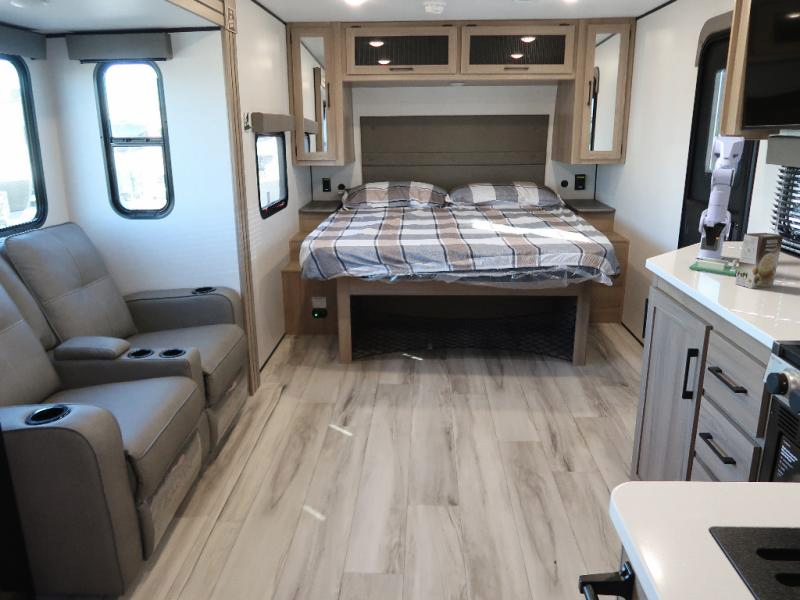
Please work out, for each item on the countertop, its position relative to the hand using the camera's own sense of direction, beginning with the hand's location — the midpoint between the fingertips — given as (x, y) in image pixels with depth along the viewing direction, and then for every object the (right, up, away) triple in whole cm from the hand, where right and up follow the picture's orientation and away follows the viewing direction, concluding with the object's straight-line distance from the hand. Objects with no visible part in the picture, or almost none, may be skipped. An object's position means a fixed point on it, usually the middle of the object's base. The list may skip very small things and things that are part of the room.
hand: (711, 244), depth 209 cm
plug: (0, -1, +1) cm, 2 cm away
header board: (+2, -8, +1) cm, 9 cm away
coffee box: (+4, -14, -18) cm, 23 cm away
